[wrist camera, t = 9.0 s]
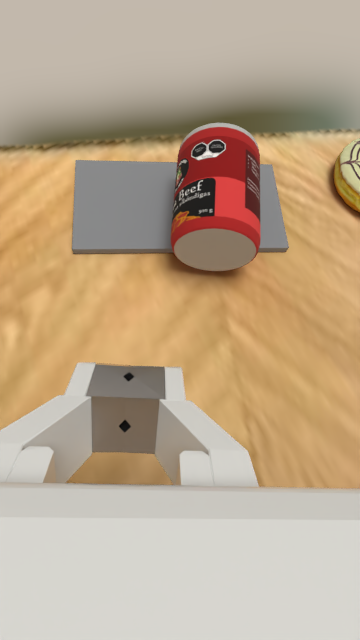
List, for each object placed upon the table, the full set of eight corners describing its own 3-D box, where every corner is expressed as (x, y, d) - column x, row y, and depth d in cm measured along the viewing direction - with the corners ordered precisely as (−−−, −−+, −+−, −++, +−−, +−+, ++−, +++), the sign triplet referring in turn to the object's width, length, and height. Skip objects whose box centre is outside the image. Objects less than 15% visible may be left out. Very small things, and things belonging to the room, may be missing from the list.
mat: (285, 251, 36) (288, 247, 35) (73, 253, 33) (72, 249, 33) (269, 169, 39) (271, 164, 39) (77, 165, 37) (75, 160, 36)
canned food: (158, 260, 32) (167, 169, 35) (232, 279, 34) (233, 192, 38) (190, 214, 25) (198, 107, 29) (279, 242, 28) (275, 141, 31)
